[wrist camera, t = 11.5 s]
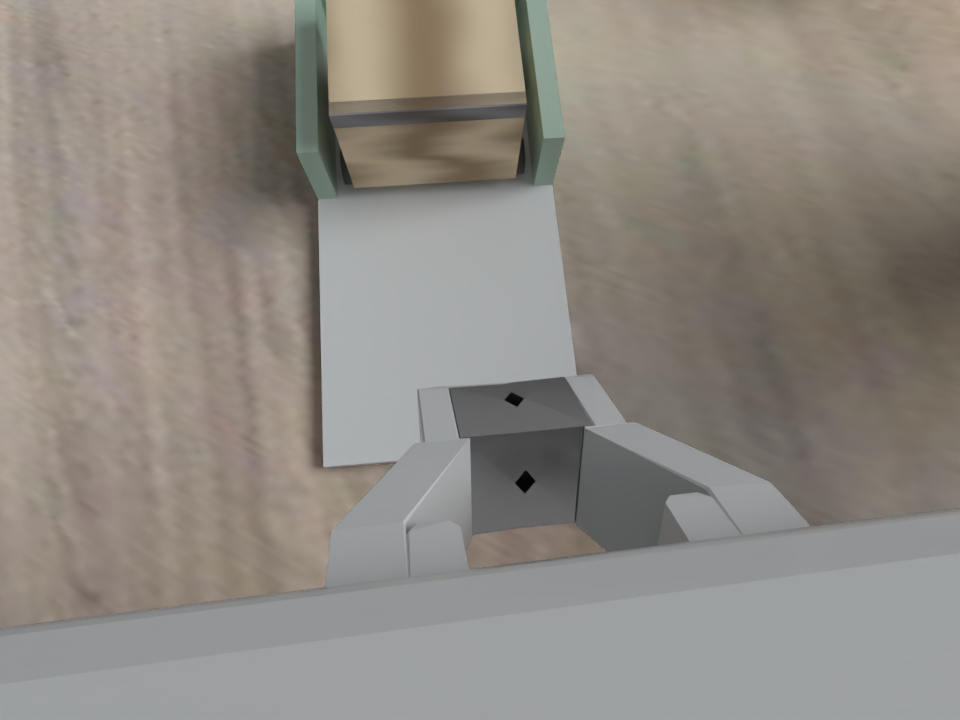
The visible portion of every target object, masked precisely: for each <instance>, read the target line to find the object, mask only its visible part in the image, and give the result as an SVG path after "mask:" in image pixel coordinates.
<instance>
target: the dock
mask: <svg viewBox="0 0 960 720" xmlns="http://www.w3.org/2000/svg"><path fill="white" fill-rule="evenodd" d="M515 9H516V17H517V25H518V33H519V42H520V50H521V58H522V66H523V75H524V83H525V91H526V99H527V109H526V116H525V119H524V126H523V132H522V137H523V139H524V146H525V171H524V174H516V178H509V179H493V180H477V181H461V182H445V183H429V184H413V185H397V186H381V187H365V188H354V186H353V184H349V185H345V183H344V181H343V177H342V172H341V164H340V145H339V142H338V139H337V136H336V133H335V130H334V129H333V126H332V123H331V120H330V117H329V94H328V55H327V16H326V0H295V74H296V154H297V156H298V158H299V160H300V162H301V164H302V166H303V169H304V171H305V173H306V175H307V177H308V179H309V181H310V183H311V186H312V188H313V190H314V192H315V194H316V196H317V198H318V222H319V273H320V324H321V375H322V426H323V467H325V468H336V467H348V466H360V465H372V464H384V463H396V462H397V461H398V460H399V459H400V458H401V457H402V456H403V455H404V454H405V453H406V452H407V451H408V449H409V448H410V447H411V446H412V445H413V444H414V443H420V431H419V416H418V400H417V389H421V388H431V387H440V386H447V387H448V386H461V385H476V384H492V383H510V382H520V381H529V380H538V379H547V378H557V377H568V376H576V375H577V374H576V366H575V358H574V350H573V343H572V335H571V327H570V319H569V311H568V304H567V296H566V288H565V280H564V272H563V265H562V257H561V249H560V241H559V233H558V226H557V218H556V210H555V202H554V194H553V187H552V184H553V180H554V176H555V173H556V169H557V165H558V162H559V158H560V154H561V150H562V147H563V143H564V139H565V134H564V126H563V119H562V112H561V104H560V97H559V90H558V83H557V75H556V68H555V61H554V53H553V46H552V39H551V32H550V24H549V17H548V10H547V2H546V0H515Z"/></svg>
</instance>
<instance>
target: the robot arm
mask: <svg viewBox="0 0 960 720" xmlns="http://www.w3.org/2000/svg"><path fill="white" fill-rule="evenodd" d="M417 400H418V416H419V431H420V443H414V444H413V445H412V446H411V447H410V448H409V449H408V451H407V452H406V453H405V454H404V455H403V456H402V457H401V458H400V459H399V460H398V461H397V462H396V463H395V464H394V465H393V466H392V468H391V469H390V470H389V471H388V472H387V473H386V474H385V475H384V476H383V477H382V478H381V479H380V480H379V481H378V482H377V483H376V484H375V486H374V487H373V488H372V489H371V490H370V491H369V492H368V493H367V494H366V495H365V496H364V497H363V498H362V499H361V500H360V501H359V502H358V504H357V505H356V506H355V507H354V508H353V509H352V510H351V511H350V512H349V513H348V514H347V515H346V516H345V517H344V518H343V519H342V521H341V522H340V523H339V524H338V525H337V526H336V527H335V528H334V529H333V530H332V531H331V539H330V548H329V558H328V567H327V577H326V586H325V587H324V588H316V589H308V590H300V591H292V592H284V593H276V594H268V595H260V596H252V597H244V598H236V599H228V600H220V601H212V602H204V603H196V604H188V605H180V606H172V607H164V608H156V609H148V610H141V611H133V612H125V613H117V614H109V615H101V616H93V617H85V618H77V619H69V620H61V621H54V622H46V623H38V624H30V625H22V626H14V627H6V628H0V720H960V508H953V509H945V510H938V511H930V512H922V513H914V514H906V515H898V516H890V517H882V518H874V519H866V520H858V521H850V522H842V523H834V524H826V525H818V526H810V525H809V524H808V522H807V521H806V520H805V519H804V518H803V517H802V516H801V515H800V514H799V513H798V512H797V511H796V509H795V508H794V507H793V506H792V505H791V504H790V503H789V502H788V501H787V500H786V499H785V497H784V496H783V495H782V494H781V493H780V492H779V491H778V490H777V489H776V488H775V487H774V486H773V484H772V483H771V482H769V481H766V480H764V479H762V478H760V477H757V476H755V475H753V474H751V473H748V472H746V471H744V470H742V469H739V468H737V467H735V466H733V465H731V464H728V463H726V462H724V461H722V460H719V459H717V458H715V457H713V456H710V455H708V454H706V453H704V452H701V451H699V450H697V449H695V448H692V447H690V446H688V445H686V444H683V443H681V442H679V441H677V440H674V439H672V438H670V437H668V436H666V435H663V434H661V433H659V432H657V431H654V430H652V429H650V428H648V427H645V426H643V425H641V424H639V423H636V422H630V423H626V421H625V420H624V418H623V417H622V415H621V414H620V412H619V411H618V410H617V408H616V407H615V405H614V404H613V402H612V401H611V400H610V398H609V397H608V395H607V394H606V392H605V391H604V389H603V388H602V387H601V385H600V384H599V382H598V381H597V379H596V378H595V377H594V375H591V374H584V375H576V376H568V377H557V378H547V379H538V380H529V381H520V382H510V383H492V384H476V385H461V386H448V387H447V386H440V387H431V388H421V389H417ZM569 523H576V526H577V527H579V528H580V529H581V530H582V531H583V532H585V533H586V534H587V535H588V536H590V537H591V538H592V539H593V540H594V541H596V542H597V543H598V544H599V545H601V546H602V547H603V548H604V549H605V550H607V551H608V552H603V553H595V554H587V555H579V556H571V557H563V558H555V559H547V560H539V561H531V562H523V563H515V564H507V565H499V566H491V567H483V568H475V569H469V568H468V563H467V558H466V553H465V551H466V549H467V547H468V545H469V543H470V541H471V539H472V535H476V534H483V533H489V532H496V531H503V530H510V529H517V528H524V527H535V526H546V525H558V524H569Z"/></svg>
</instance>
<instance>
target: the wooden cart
mask: <svg viewBox="0 0 960 720" xmlns="http://www.w3.org/2000/svg"><path fill="white" fill-rule="evenodd" d="M326 16H327V55H328V94H329V117H330V120H331V123H332V126H333V129H334V130H335V133H336V136H337V139H338V142H339V145H340V164H341V172H342V177H343V181H344V183H345V185H349V184H353V186H354V188H365V187H381V186H397V185H413V184H429V183H445V182H461V181H477V180H493V179H509V178H516V174H524V171H525V146H524V139H523V137H522V132H523V126H524V119H525V116H526V109H527V99H526V91H525V83H524V75H523V66H522V58H521V50H520V42H519V33H518V25H517V17H516V9H515V0H326Z"/></svg>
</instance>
